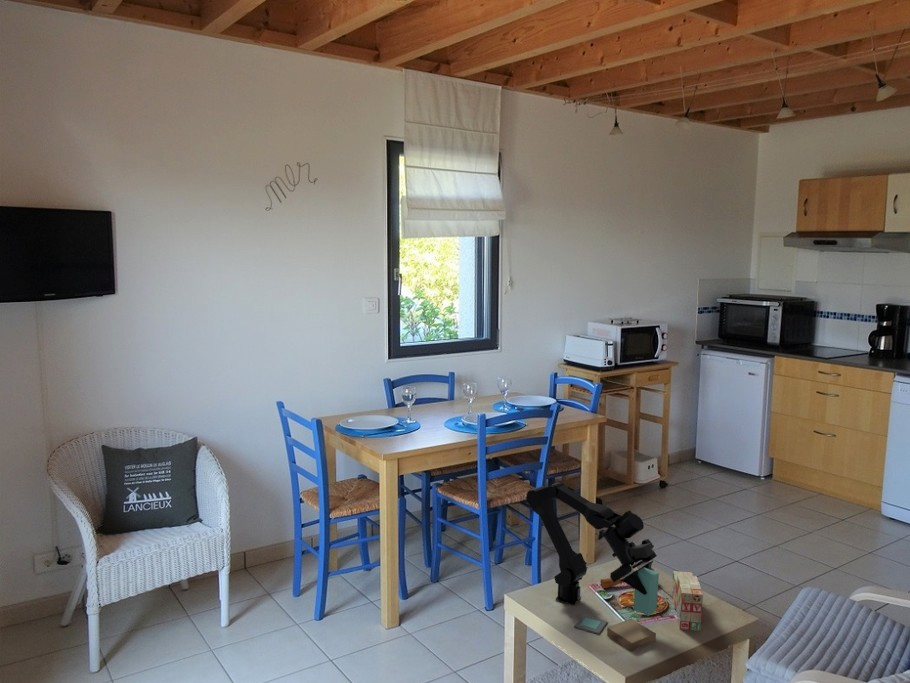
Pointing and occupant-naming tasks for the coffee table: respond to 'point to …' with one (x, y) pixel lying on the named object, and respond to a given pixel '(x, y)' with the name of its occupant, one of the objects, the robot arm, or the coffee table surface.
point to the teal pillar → (648, 601)
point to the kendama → (611, 582)
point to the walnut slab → (631, 634)
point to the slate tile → (590, 624)
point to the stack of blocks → (687, 600)
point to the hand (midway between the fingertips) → (650, 591)
